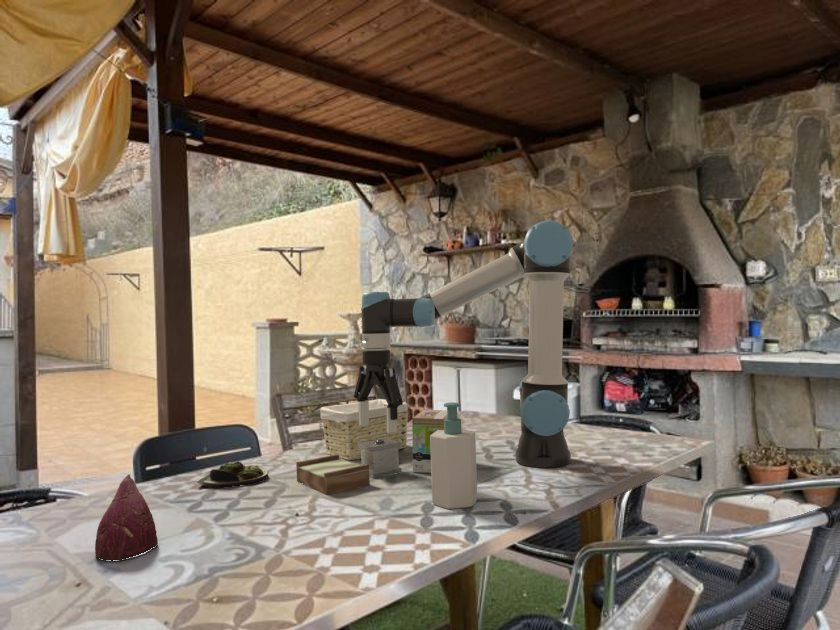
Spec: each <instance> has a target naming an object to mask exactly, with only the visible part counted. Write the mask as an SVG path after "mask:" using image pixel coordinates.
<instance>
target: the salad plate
mask: <svg viewBox="0 0 840 630" xmlns="http://www.w3.org/2000/svg"><path fill="white" fill-rule="evenodd" d="M268 476H269V474H268V471H267V470H266V468H265V467H264V466H263V465H258V464H257V465H253V464H252V465H244V464H243V463H242V461H239V460H236V461H234V462H233V463H232V461H228V463H226V462H225V463H224V464H221V465H220V467H218V468H217V469H215V468H213V469H211V470H210V471H206V472H204V473H203V474H202V476H201V478H200V479H199V480H197V481H196V483H197V484H199V485H202V486H205V487H206V488H209V487H211V488H210V489H225V488H224V487H228V488H233V487H232V486H237V487H241V486H240V485H245V486H249V485H248V484H251V485H255V484H254V483H256V484H258V482H259V483H261V481H262V482H263V480H264V481H265V480H266V479H267V478H268Z"/></svg>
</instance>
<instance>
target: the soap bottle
mask: <svg viewBox="0 0 840 630" xmlns="http://www.w3.org/2000/svg"><path fill="white" fill-rule="evenodd" d="M443 407H444V408H446V410H447V419H444V430H437V431H436V432H434V433H433V434H432V435H431V436H430V446H431V473H430V474H431V498H432V499H431V500H432V501H431V503H432V505H434V506H437V507H440V508H444V509H447V510H457V509H465V508H466V509H467V508H472V507H473V506H474V504H475V503H476V502H477V501H478V477H477V476H478V475H477V471H478V470H477V445H476V432H475V431H474V430H467V429H462V418H459V417H458V408H459V407H461V404H460V403H459V402H445V403H444V404H443Z"/></svg>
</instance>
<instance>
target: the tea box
mask: <svg viewBox="0 0 840 630" xmlns="http://www.w3.org/2000/svg"><path fill="white" fill-rule="evenodd" d="M444 419H447V409H445V410H444V409H423V410H421V411H420V412H419V413H416V415H415V416H413V417H412V419H411V420H412V430H411V431H412V440H411V441H412V472H413V473H423V474H424V473H426V474H428V473H429V474H431V446H430V436H431V435H432V434H433V433H434V432H436V431H437V430H444Z"/></svg>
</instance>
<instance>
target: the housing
mask: <svg viewBox="0 0 840 630" xmlns="http://www.w3.org/2000/svg"><path fill="white" fill-rule="evenodd" d="M400 446H401V442H399V441H395V440H391V439H387V438H384V439H379V440H373V441H368V442H362V443H358V448H361V458H360V460H361V463H360V464H361V465H366V464H368V465H369V479H378V478H381V477H382V478H383V477H386V476H392V475H396V474H401V473H402V467H400V465H399V464H400V463H399V449H398V447H400ZM361 465H360V466H361ZM395 473H396V474H395ZM391 474H392V475H391Z"/></svg>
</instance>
